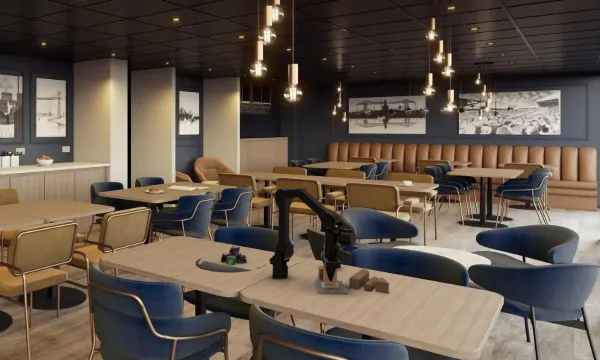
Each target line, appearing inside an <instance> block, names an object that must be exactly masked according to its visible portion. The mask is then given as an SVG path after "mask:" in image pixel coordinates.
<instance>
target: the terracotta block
mask: <svg viewBox="0 0 600 360" xmlns="http://www.w3.org/2000/svg"><path fill="white" fill-rule="evenodd" d="M323 281H324V283H337V281H338V271H337V269H336V270H335V273H334V276H333V280H332V281H329V278H328V275H327V272H326V269H325V268H324V280H323Z"/></svg>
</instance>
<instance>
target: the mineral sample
mask: <svg viewBox="0 0 600 360" xmlns="http://www.w3.org/2000/svg"><path fill="white" fill-rule="evenodd" d="M240 249H241V247H240V246H235V245H232V246H231V247H230V249H229V251H228V253H226V252H223V253H222V255H221V257H220V261H221V262H222V263H227V264H222V263H221V264H220V263H215V262H211V261H206V260H202V258H199V259H197V260H196V261H195V265H196V266H197V267H199V268H200V269H202V270H203V269H204V270H209V271H212V272H213V271H214V272H224V273H236V272H237V273H238V272H248V271H249V272H250V269H248V268H247V269H246V268H244V267H243V268H242V267H237V266H232V265H237V264H248V263H247V261H248V260H247V256H246V254H242V252H240ZM201 260H202V262H200V261H201ZM262 267H265V265H263V266H261V267H260V266H258V267H257V268H256V270H258V269H259V270H260V268H262Z"/></svg>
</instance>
